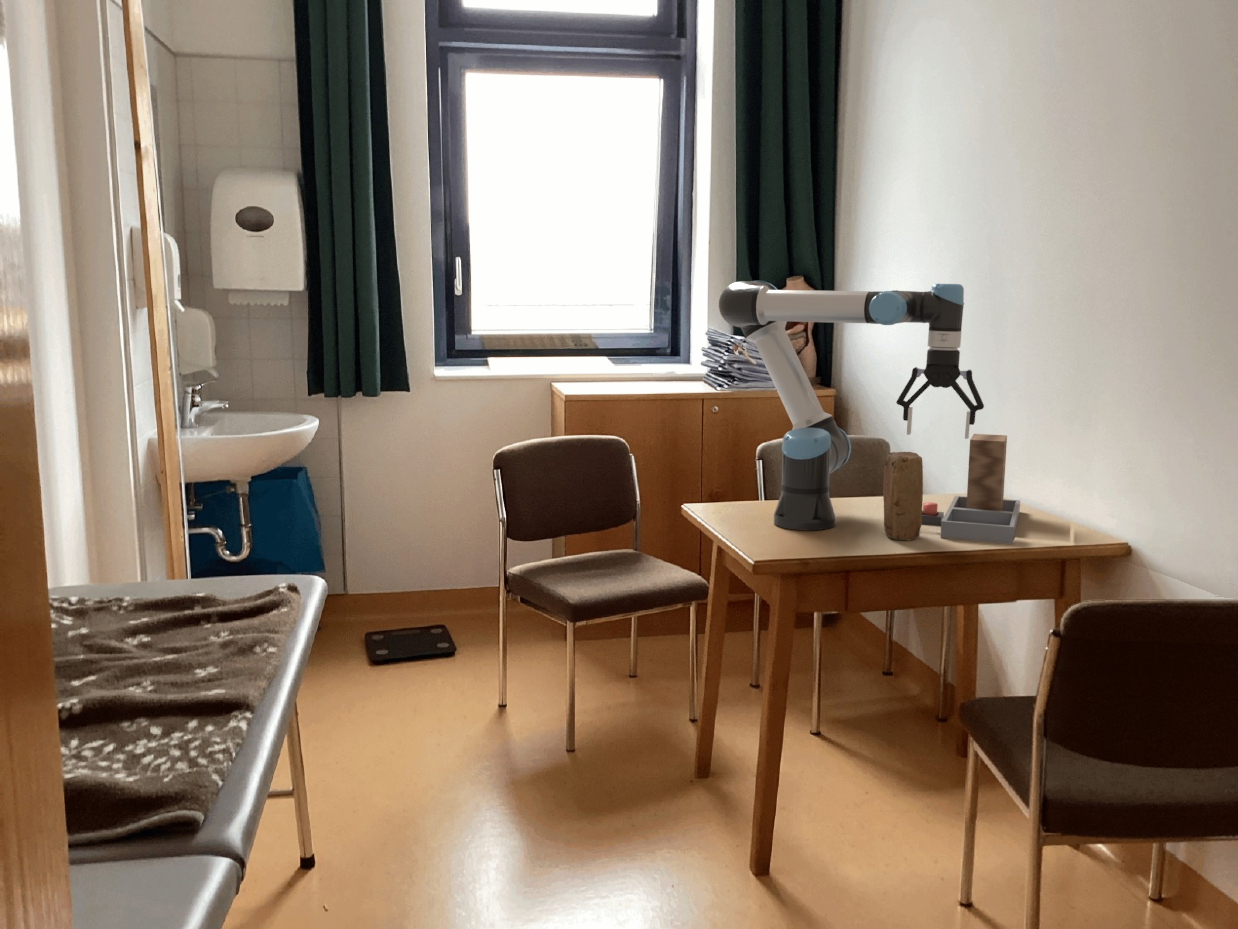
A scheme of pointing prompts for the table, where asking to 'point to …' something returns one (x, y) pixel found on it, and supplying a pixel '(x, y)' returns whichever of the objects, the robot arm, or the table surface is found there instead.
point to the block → (903, 495)
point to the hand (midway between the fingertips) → (937, 436)
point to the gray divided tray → (980, 522)
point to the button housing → (932, 519)
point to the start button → (930, 508)
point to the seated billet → (986, 472)
